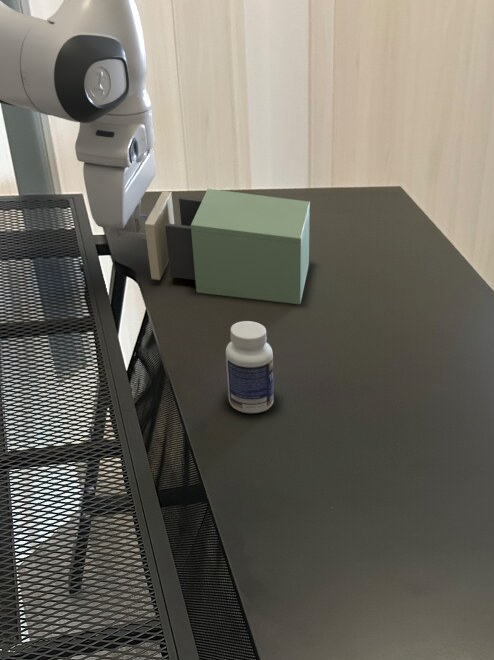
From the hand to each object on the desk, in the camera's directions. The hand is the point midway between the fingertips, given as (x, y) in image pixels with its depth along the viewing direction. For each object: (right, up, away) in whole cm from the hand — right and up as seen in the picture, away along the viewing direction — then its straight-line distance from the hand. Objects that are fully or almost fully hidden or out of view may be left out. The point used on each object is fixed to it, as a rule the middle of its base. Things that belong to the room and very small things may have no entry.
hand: (132, 233), depth 121 cm
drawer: (+7, -3, +3) cm, 8 cm away
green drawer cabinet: (+16, -4, +5) cm, 18 cm away
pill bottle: (+21, -28, -16) cm, 38 cm away
